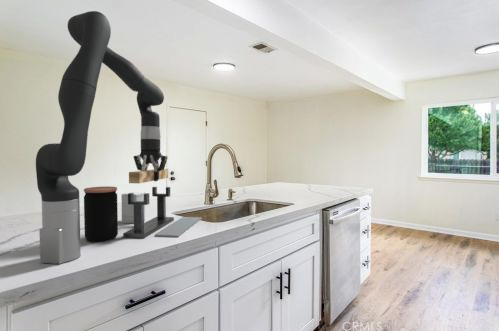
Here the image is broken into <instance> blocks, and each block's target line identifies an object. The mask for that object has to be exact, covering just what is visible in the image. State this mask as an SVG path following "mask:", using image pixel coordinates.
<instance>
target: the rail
mask: <svg viewBox="0 0 499 331" xmlns="http://www.w3.org/2000/svg"><path fill="white" fill-rule="evenodd" d="M154 172H155V171H154V168H153V169H147V170H144V171H140V170H137V171H135V170H134V171H129V172H128V183H129V184H144V183H149V182H155V181H154ZM168 178H169V168H164V170H161V171H160V172H159V180H160V181H161V180H165V179H168ZM159 180H158V181H159Z"/></svg>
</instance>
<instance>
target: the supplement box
mask: <svg viewBox="0 0 499 331" xmlns="http://www.w3.org/2000/svg"><path fill="white" fill-rule="evenodd" d="M128 193H134V201H144V194H145V193H146V192H142V191H141V192H140V191H138V192H137V191H131V192H127V193H121V223H123V224H125V223H126V224H134V205H131V204H128ZM144 221H146V205H144Z"/></svg>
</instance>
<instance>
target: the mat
mask: <svg viewBox="0 0 499 331" xmlns="http://www.w3.org/2000/svg"><path fill="white" fill-rule="evenodd" d="M201 220H202V217H199V216H198V217H197V216H195V217H194V216H182V217H181V218H179V219H177V220H176V221H173V223H172V222H171V223H170V224H168V226H165V227H164V228H163V229H161V230H159V231H158V232H157V233H156V232H155V234H154V237H165V238H179V237H181V236H182V235H183V234H184V233H186V232H187V231H188V230H189V229H191V228H192V227H193V226H194V225H196V224H197V223H198V222H200V221H201ZM190 227H191V228H190ZM186 230H187V231H186Z"/></svg>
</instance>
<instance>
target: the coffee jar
mask: <svg viewBox="0 0 499 331" xmlns="http://www.w3.org/2000/svg"><path fill="white" fill-rule="evenodd" d="M117 191H118V187H116V186H93V187H92V186H91V187H85V188H83V192H84V196H83V217H84V220H83V221H84V222H83V224H84V238H85V240H86V241H87V242H90V243H103V242H108V241H111V240H114V239H117V236H118V235H119V224H118V221H119V220H118V219H119V218H118V216H119V215H118V214H119V213H118V193H117Z"/></svg>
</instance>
